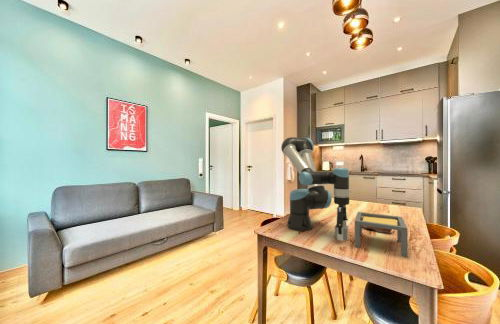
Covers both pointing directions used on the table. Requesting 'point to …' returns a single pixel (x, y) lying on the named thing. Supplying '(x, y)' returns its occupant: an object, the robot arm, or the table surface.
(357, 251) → the table surface
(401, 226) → the frame
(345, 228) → the grey cube
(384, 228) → the rock
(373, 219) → the hatch
